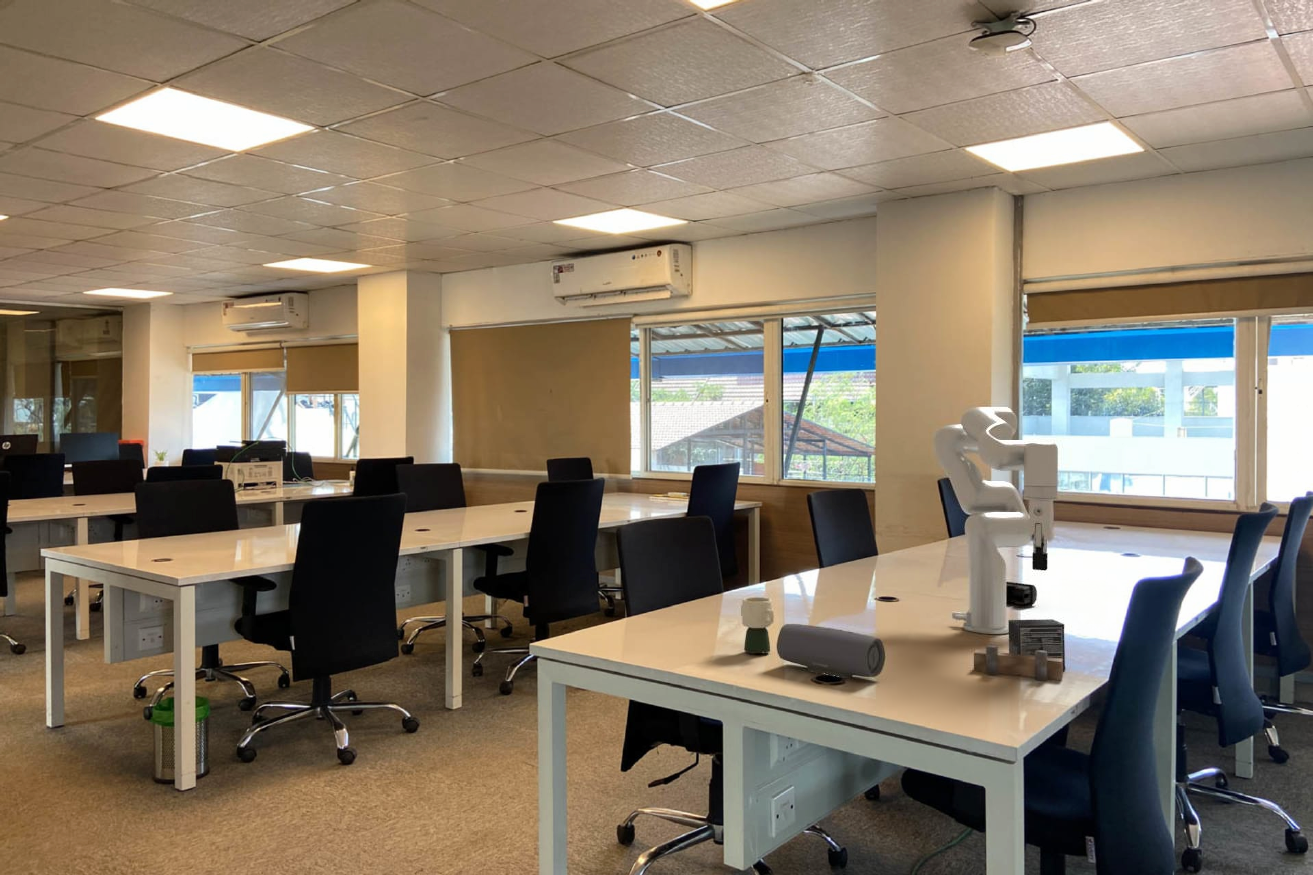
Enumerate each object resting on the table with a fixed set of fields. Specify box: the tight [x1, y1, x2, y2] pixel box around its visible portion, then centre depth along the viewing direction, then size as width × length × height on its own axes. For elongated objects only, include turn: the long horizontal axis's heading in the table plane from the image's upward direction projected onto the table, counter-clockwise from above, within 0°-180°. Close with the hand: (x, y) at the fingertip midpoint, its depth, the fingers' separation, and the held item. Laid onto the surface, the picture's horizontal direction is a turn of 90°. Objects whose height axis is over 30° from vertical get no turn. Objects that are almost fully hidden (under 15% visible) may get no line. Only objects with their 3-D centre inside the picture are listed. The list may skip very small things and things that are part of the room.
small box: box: [1007, 618, 1066, 672], centre depth 205 cm, size 11×6×10 cm, turn 90°
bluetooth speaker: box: [776, 623, 886, 679], centre depth 201 cm, size 23×9×10 cm, turn 48°
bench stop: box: [973, 645, 1064, 682], centre depth 199 cm, size 18×5×6 cm, turn 63°
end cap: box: [1006, 581, 1038, 609], centre depth 279 cm, size 10×7×7 cm
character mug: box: [740, 596, 775, 655], centre depth 219 cm, size 11×7×13 cm, turn 37°
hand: (1039, 569), depth 218 cm, fingers closed
